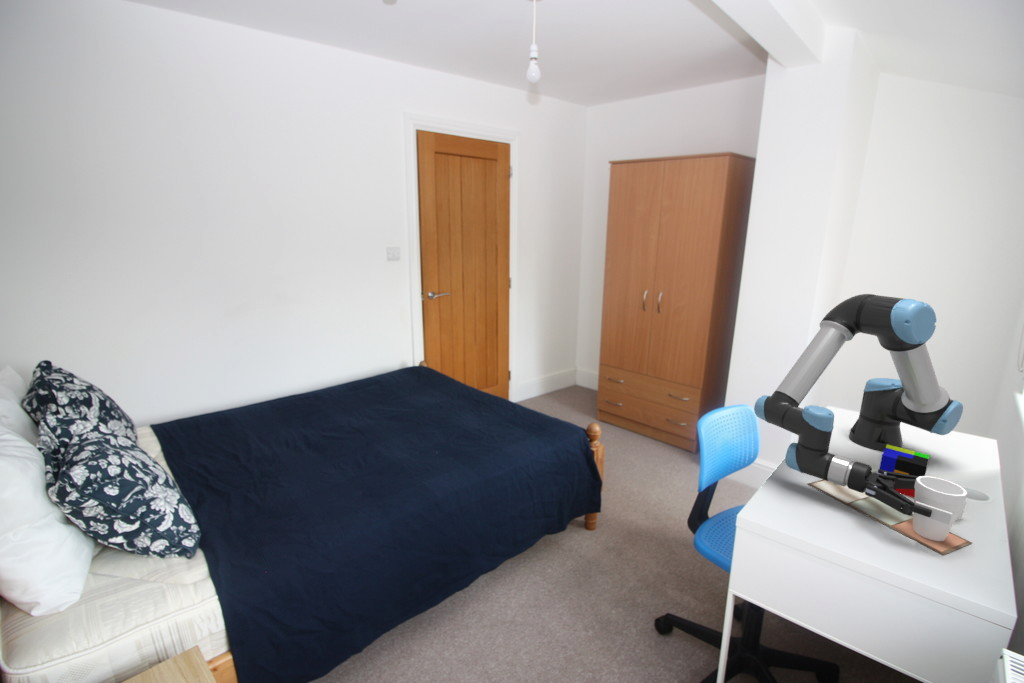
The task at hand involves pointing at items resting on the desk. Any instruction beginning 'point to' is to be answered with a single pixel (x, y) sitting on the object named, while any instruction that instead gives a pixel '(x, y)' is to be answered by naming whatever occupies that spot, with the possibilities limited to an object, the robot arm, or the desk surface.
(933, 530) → the foam cup
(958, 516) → the die
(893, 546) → the desk surface
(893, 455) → the puzzle toy
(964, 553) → the desk surface
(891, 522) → the color swatch strip
